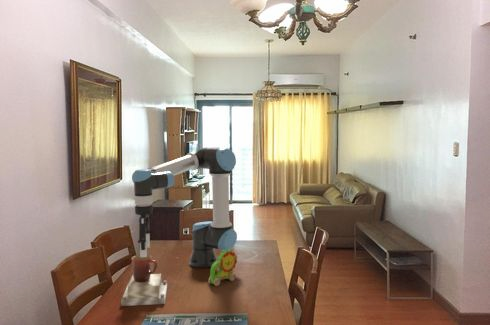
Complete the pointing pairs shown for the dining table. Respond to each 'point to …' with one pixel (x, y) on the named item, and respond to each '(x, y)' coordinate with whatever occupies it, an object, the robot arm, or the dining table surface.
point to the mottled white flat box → (145, 292)
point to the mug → (142, 268)
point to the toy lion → (223, 267)
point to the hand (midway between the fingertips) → (145, 252)
